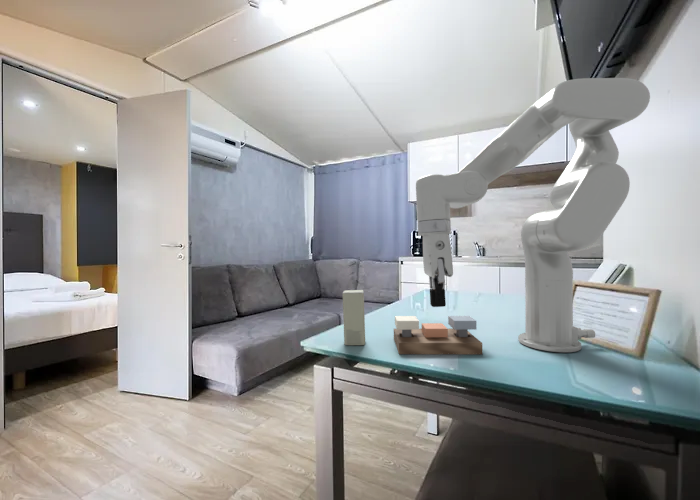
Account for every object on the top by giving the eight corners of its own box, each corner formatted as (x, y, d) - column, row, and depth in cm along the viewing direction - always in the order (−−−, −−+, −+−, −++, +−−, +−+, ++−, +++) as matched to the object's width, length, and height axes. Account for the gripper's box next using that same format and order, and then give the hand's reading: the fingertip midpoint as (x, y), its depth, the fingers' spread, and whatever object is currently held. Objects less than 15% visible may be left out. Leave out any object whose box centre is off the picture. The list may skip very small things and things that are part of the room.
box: (365, 340, 79) (365, 289, 79) (364, 346, 75) (364, 292, 75) (344, 340, 80) (344, 289, 80) (342, 345, 76) (342, 292, 75)
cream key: (415, 334, 77) (415, 316, 77) (419, 340, 72) (418, 320, 72) (395, 334, 78) (394, 316, 78) (397, 340, 73) (397, 320, 72)
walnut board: (464, 338, 80) (464, 328, 80) (482, 354, 68) (482, 342, 68) (393, 338, 81) (393, 328, 81) (399, 354, 69) (398, 342, 69)
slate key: (469, 334, 77) (469, 315, 77) (476, 340, 72) (476, 320, 72) (448, 334, 77) (448, 315, 77) (454, 340, 72) (454, 320, 72)
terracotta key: (442, 341, 77) (442, 323, 77) (447, 348, 72) (447, 328, 72) (421, 341, 77) (421, 323, 77) (425, 348, 72) (425, 328, 72)
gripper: (459, 225, 67) (464, 312, 67) (442, 229, 82) (445, 299, 82) (424, 227, 67) (428, 313, 67) (413, 231, 82) (416, 301, 82)
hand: (438, 305), depth 75 cm, fingers closed
